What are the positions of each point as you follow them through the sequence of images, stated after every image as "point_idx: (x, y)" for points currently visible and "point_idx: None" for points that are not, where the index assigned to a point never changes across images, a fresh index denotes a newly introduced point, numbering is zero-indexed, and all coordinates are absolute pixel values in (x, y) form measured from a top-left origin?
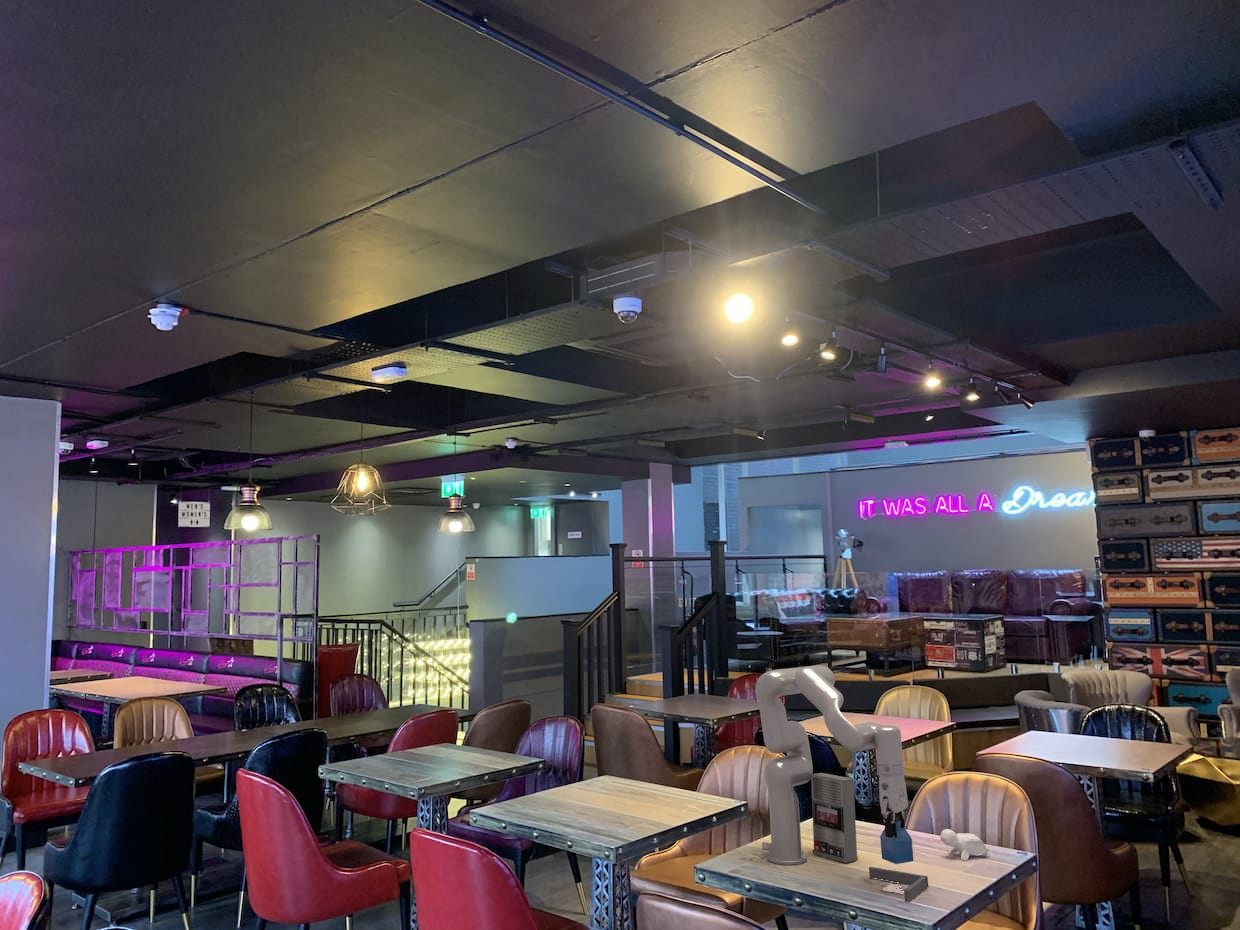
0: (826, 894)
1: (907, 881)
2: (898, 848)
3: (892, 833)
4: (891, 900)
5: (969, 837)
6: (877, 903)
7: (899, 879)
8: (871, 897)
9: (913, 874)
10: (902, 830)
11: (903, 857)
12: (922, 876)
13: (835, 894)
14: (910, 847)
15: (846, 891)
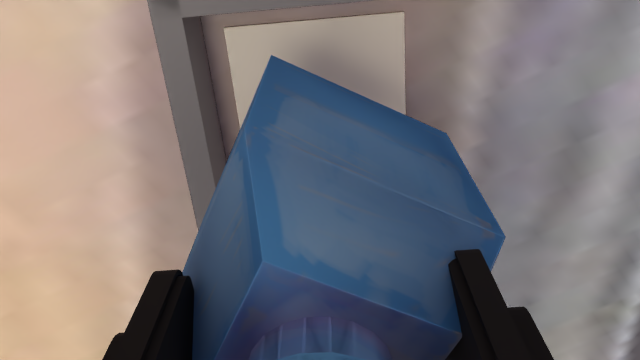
0: (594, 330)
1: (211, 108)
2: (434, 174)
3: (521, 313)
4: (534, 53)
5: None
6: (623, 92)
7: (219, 157)
8: (537, 161)
9: (180, 86)
10: (327, 268)
11: (375, 115)
12: (176, 15)
13: (576, 303)
14: (283, 103)
15: (507, 287)
